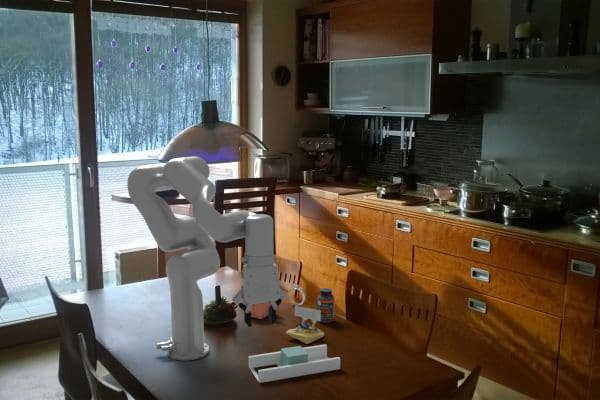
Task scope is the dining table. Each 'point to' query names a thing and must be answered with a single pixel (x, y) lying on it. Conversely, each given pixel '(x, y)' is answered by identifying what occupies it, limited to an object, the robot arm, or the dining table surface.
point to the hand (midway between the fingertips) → (260, 323)
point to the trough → (315, 364)
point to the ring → (301, 292)
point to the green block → (293, 355)
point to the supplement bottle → (326, 305)
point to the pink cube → (260, 310)
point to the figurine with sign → (306, 325)
